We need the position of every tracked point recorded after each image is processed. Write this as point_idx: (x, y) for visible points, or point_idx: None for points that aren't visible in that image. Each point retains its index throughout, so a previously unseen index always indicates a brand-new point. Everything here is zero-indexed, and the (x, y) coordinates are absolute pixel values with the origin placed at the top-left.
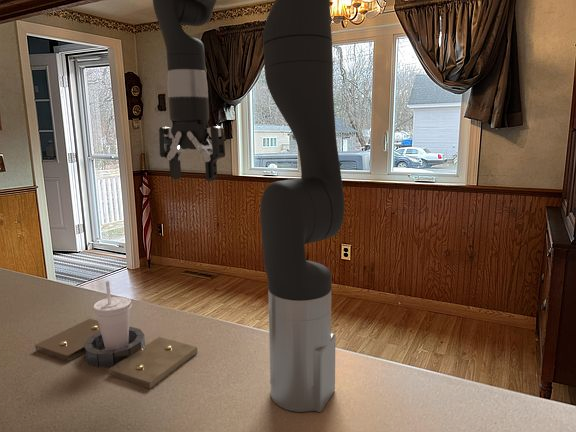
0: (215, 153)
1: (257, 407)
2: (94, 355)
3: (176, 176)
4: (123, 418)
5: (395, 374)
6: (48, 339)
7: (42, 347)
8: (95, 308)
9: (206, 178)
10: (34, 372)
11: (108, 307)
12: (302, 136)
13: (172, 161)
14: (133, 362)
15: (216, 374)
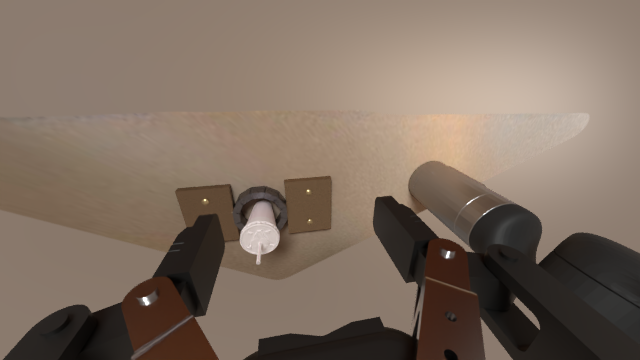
0: (494, 312)
1: (405, 204)
2: None
3: (219, 241)
4: (335, 247)
5: (493, 126)
6: None
7: None
8: (256, 254)
9: (377, 233)
10: (232, 253)
11: (266, 247)
12: None
13: (202, 315)
14: (298, 219)
15: (362, 191)
